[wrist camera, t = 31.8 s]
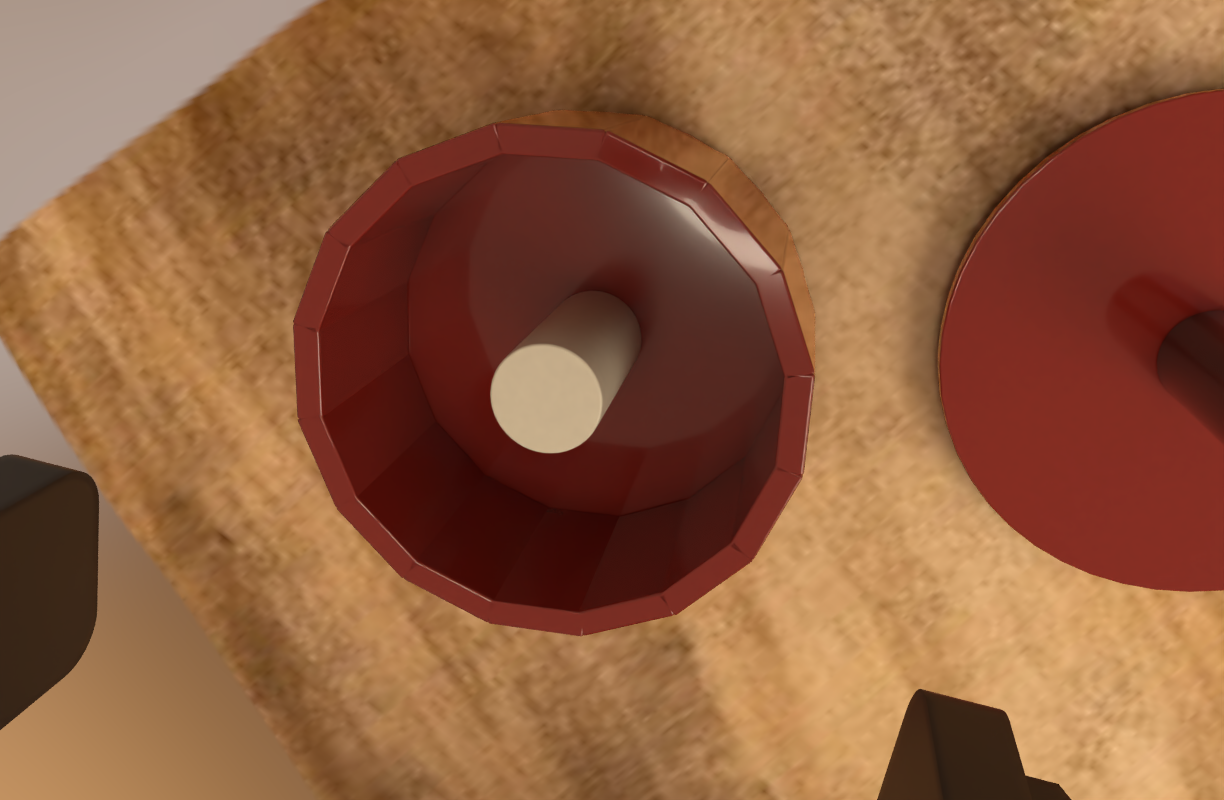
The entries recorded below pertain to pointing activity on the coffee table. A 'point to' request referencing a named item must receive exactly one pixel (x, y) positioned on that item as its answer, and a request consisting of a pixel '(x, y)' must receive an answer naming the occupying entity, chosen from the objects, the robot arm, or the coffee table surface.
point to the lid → (1102, 350)
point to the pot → (505, 315)
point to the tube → (566, 372)
